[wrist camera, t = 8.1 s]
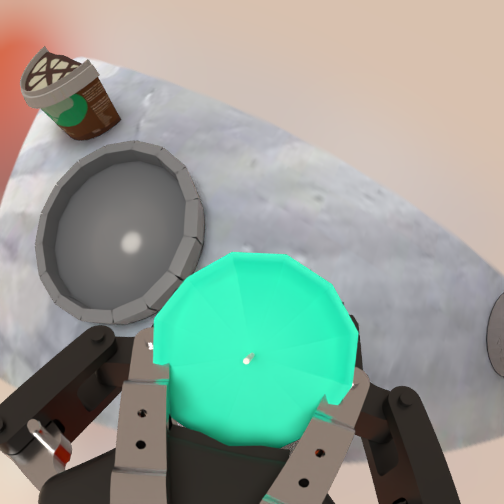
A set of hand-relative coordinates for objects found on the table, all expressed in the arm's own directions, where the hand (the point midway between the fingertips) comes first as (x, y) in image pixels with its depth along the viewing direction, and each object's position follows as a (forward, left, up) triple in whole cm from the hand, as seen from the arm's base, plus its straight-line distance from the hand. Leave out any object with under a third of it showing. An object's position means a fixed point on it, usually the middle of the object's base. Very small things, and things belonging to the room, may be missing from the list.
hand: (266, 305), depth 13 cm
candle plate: (+9, -12, -11) cm, 18 cm away
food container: (+11, -28, -11) cm, 32 cm away
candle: (+1, +2, -6) cm, 6 cm away
